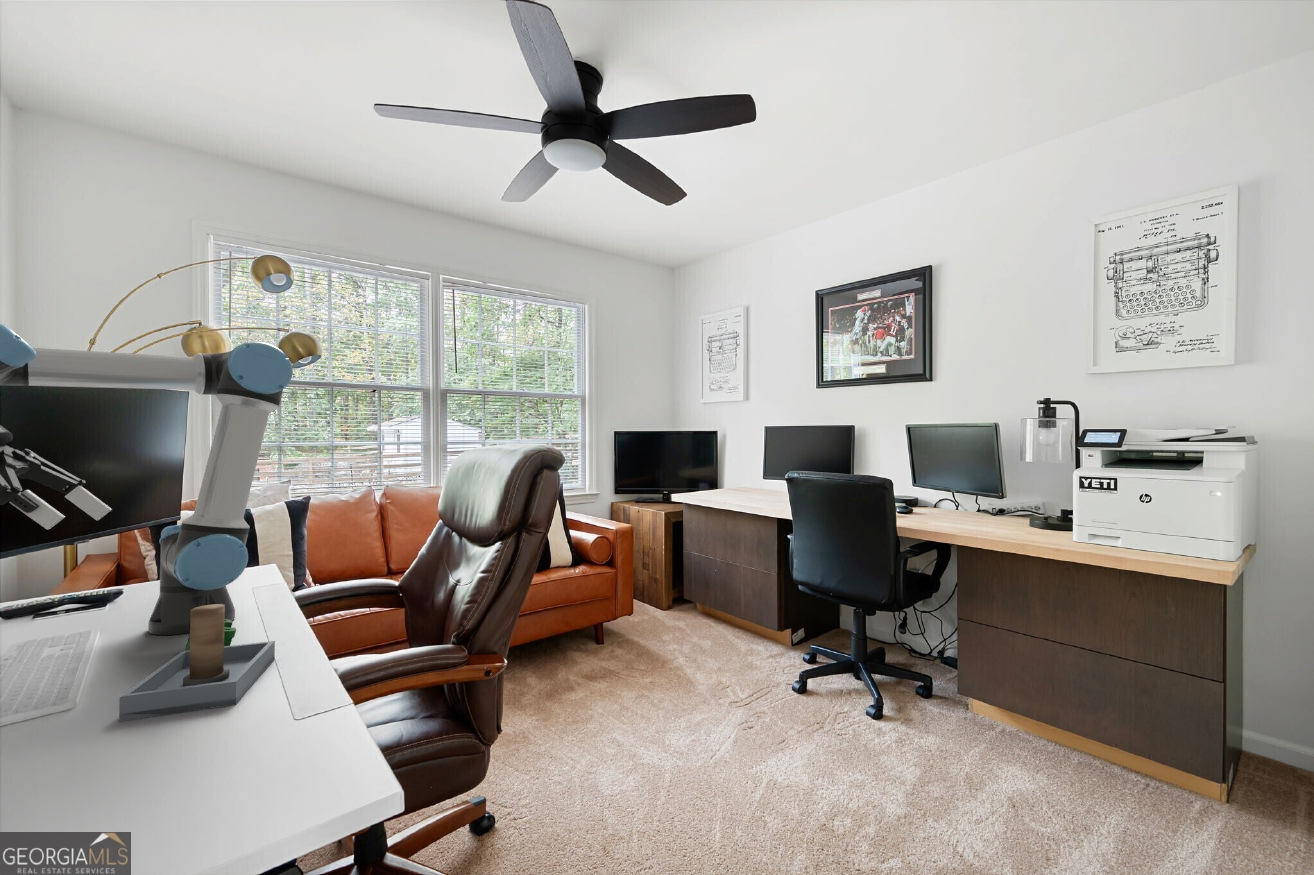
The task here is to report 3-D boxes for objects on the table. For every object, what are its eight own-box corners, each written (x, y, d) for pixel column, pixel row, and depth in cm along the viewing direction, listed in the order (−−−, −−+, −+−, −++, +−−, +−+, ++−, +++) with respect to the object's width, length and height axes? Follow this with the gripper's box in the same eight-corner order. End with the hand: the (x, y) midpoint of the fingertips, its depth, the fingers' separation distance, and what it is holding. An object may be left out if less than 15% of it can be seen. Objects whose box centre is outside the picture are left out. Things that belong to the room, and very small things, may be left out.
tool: (192, 676, 93) (193, 604, 93) (234, 670, 95) (236, 601, 95) (175, 690, 87) (177, 614, 87) (221, 684, 89) (223, 610, 90)
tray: (181, 670, 98) (182, 651, 98) (274, 659, 103) (274, 640, 103) (119, 721, 79) (119, 696, 79) (235, 704, 84) (236, 681, 84)
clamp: (221, 677, 106) (237, 636, 105) (181, 678, 102) (197, 636, 101) (223, 638, 115) (237, 600, 114) (186, 637, 111) (201, 599, 110)
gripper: (0, 450, 101) (103, 526, 106) (-133, 448, 78) (8, 545, 83) (39, 421, 103) (138, 497, 108) (-79, 411, 80) (55, 509, 85)
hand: (82, 518), depth 96 cm, fingers open, 13 cm apart
